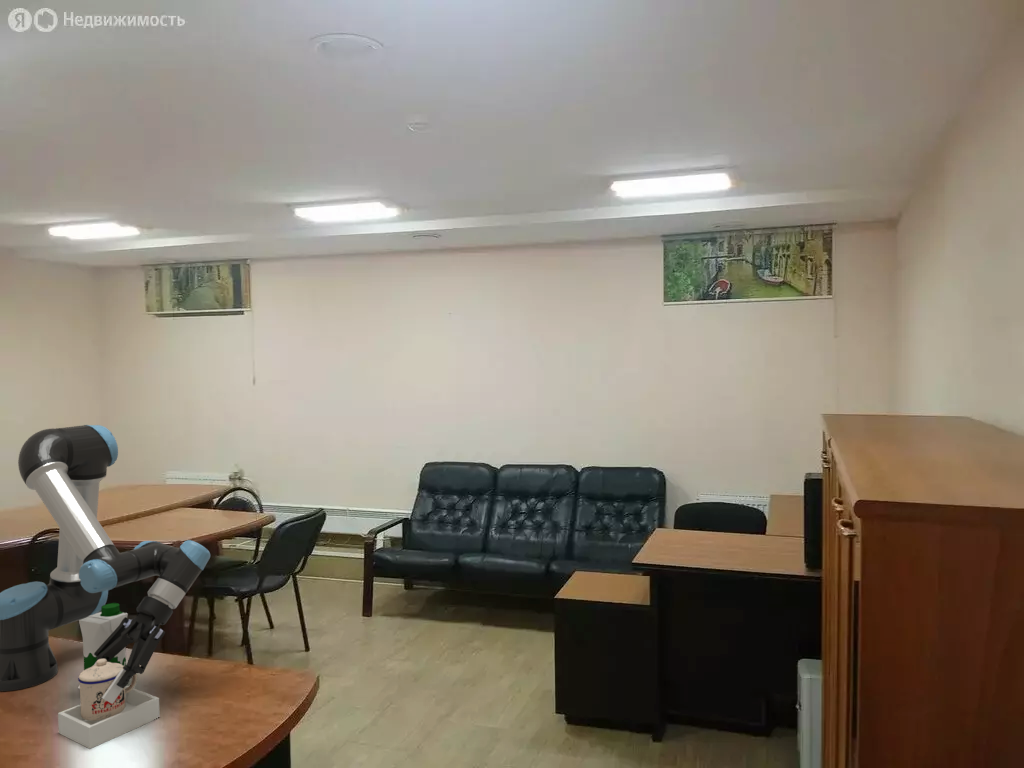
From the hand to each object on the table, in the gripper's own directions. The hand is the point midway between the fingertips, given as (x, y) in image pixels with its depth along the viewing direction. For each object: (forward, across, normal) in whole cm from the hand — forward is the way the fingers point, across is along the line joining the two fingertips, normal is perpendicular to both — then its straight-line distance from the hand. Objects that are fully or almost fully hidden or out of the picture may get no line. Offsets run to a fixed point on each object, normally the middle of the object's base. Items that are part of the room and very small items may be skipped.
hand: (94, 695), depth 162 cm
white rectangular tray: (+3, 0, -8) cm, 9 cm away
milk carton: (-4, +20, -15) cm, 25 cm away
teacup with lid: (+1, 0, -5) cm, 5 cm away
